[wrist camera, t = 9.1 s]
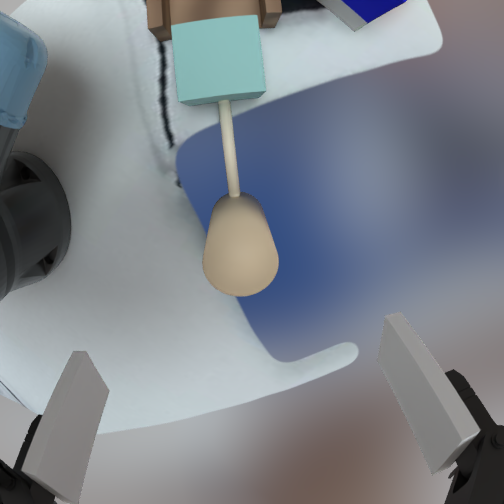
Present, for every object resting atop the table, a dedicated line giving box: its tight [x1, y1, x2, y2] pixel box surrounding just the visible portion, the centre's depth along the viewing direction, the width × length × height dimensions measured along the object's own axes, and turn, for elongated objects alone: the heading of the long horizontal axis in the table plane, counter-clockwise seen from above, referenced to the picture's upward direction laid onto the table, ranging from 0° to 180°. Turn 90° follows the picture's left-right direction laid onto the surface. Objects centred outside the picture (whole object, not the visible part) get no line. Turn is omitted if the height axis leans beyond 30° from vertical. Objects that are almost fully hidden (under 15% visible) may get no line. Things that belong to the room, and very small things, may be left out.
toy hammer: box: [171, 15, 279, 296], centre depth 22 cm, size 6×20×10 cm, turn 6°
